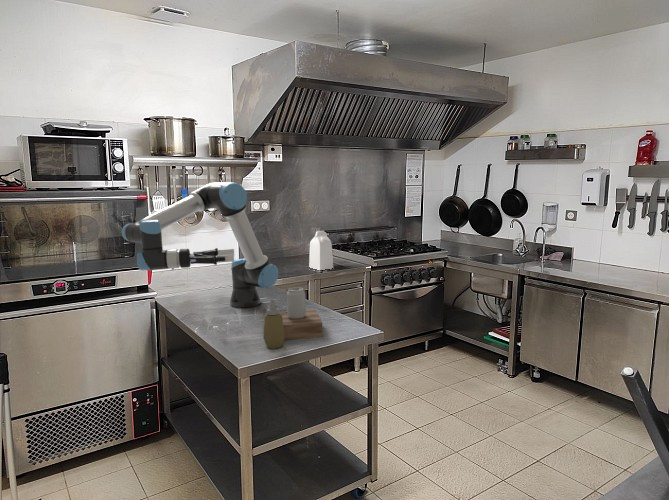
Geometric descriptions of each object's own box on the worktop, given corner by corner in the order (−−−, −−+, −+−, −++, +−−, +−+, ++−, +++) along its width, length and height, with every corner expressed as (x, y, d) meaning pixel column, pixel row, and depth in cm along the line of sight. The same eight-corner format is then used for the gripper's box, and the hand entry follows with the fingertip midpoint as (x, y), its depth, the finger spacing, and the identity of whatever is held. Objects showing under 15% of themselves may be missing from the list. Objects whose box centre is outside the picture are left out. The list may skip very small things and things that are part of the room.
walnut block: (274, 326, 203) (273, 312, 203) (316, 323, 207) (315, 309, 206) (277, 340, 186) (276, 325, 185) (322, 336, 189) (322, 322, 188)
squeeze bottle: (273, 351, 174) (271, 303, 171) (259, 346, 179) (256, 300, 177) (289, 345, 180) (287, 299, 177) (275, 341, 185) (273, 296, 183)
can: (306, 314, 199) (305, 286, 197) (305, 319, 192) (304, 290, 190) (288, 314, 199) (287, 286, 197) (287, 320, 192) (285, 291, 190)
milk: (322, 266, 334) (321, 229, 330) (333, 268, 326) (332, 230, 322) (309, 269, 326) (307, 231, 322) (320, 271, 318) (319, 232, 314)
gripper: (183, 262, 202) (234, 258, 206) (176, 274, 178) (234, 270, 182) (182, 244, 201) (233, 241, 205) (174, 254, 177) (233, 250, 181)
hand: (234, 254), depth 193 cm, fingers open, 13 cm apart
